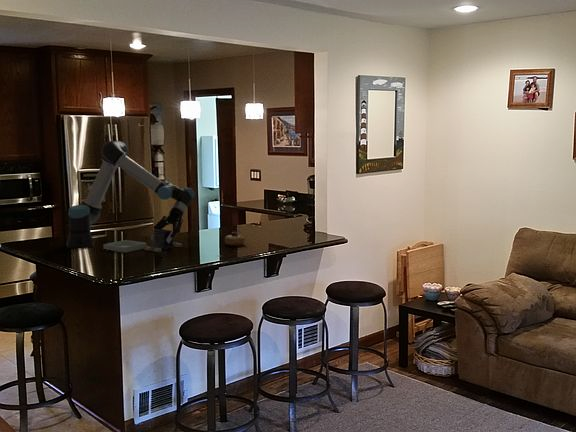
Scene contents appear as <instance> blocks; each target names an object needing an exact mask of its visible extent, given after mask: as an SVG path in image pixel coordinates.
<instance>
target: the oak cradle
mask: <svg viewBox="0 0 576 432" xmlns="http://www.w3.org/2000/svg"><path fill="white" fill-rule="evenodd" d="M173 248H183V243H179V242H173ZM143 250H145V251H150V252H156V253H162V252H163V250H162V248H156V247H154V246H148V245H147V246H144V249H143Z"/></svg>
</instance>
